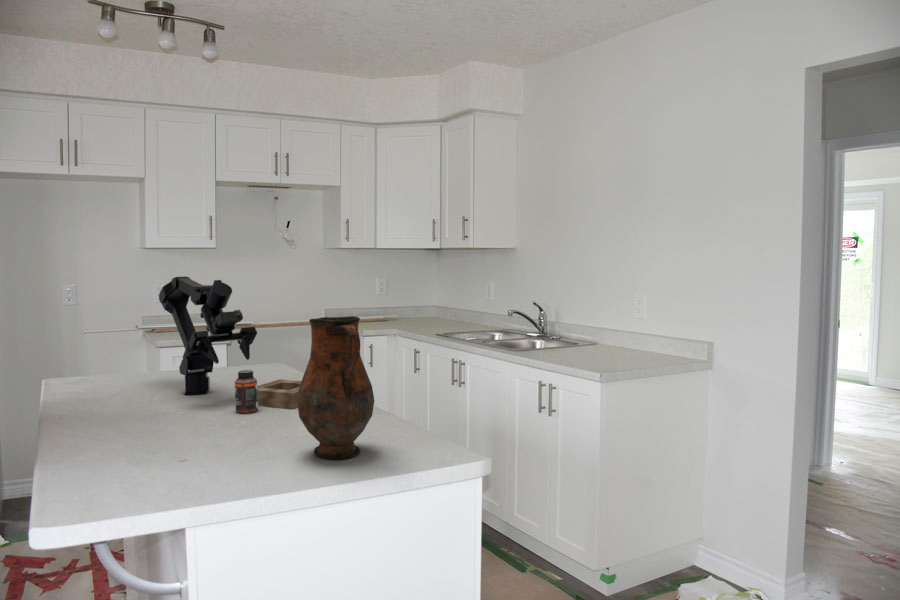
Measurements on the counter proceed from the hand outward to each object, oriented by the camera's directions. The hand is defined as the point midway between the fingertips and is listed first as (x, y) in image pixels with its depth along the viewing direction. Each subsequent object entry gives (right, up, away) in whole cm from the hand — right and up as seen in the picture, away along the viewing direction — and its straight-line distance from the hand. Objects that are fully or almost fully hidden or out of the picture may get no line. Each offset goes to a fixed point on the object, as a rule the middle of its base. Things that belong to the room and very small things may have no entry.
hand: (233, 360), depth 191 cm
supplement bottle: (+5, -14, -5) cm, 15 cm away
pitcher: (+38, -17, -45) cm, 61 cm away
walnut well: (+13, -13, +8) cm, 20 cm away
